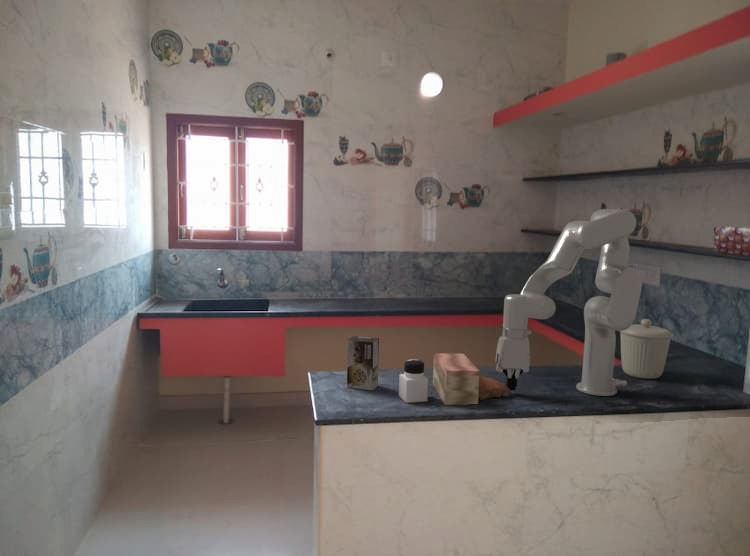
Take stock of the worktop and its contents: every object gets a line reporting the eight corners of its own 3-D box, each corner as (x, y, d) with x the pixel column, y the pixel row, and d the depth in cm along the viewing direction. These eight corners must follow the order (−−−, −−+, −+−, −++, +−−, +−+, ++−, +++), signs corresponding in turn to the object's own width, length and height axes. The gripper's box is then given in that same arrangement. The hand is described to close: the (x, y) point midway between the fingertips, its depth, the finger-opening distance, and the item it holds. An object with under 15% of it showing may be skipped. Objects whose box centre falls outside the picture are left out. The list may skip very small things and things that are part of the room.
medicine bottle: (428, 401, 174) (429, 363, 173) (405, 403, 172) (407, 364, 171) (419, 394, 181) (421, 357, 180) (398, 395, 179) (399, 358, 178)
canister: (635, 383, 201) (640, 324, 198) (605, 369, 218) (609, 314, 216) (680, 381, 205) (686, 323, 202) (646, 368, 222) (651, 314, 220)
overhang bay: (461, 383, 194) (463, 353, 192) (477, 404, 173) (479, 371, 172) (432, 383, 193) (434, 353, 192) (445, 404, 172) (446, 370, 171)
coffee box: (378, 385, 189) (380, 337, 187) (372, 391, 183) (374, 341, 181) (352, 382, 192) (353, 335, 190) (345, 387, 186) (347, 339, 184)
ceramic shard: (447, 373, 187) (482, 375, 195) (446, 393, 187) (481, 394, 194) (477, 380, 175) (513, 381, 182) (475, 401, 174) (512, 401, 182)
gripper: (533, 331, 186) (529, 385, 189) (488, 330, 185) (485, 385, 187) (541, 336, 179) (538, 393, 181) (494, 335, 178) (491, 392, 180)
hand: (511, 389), depth 184 cm, fingers closed
